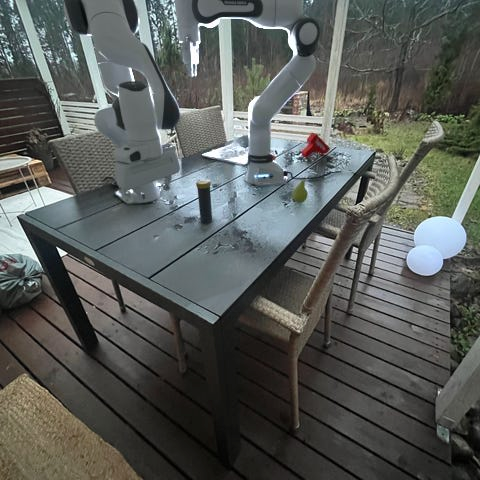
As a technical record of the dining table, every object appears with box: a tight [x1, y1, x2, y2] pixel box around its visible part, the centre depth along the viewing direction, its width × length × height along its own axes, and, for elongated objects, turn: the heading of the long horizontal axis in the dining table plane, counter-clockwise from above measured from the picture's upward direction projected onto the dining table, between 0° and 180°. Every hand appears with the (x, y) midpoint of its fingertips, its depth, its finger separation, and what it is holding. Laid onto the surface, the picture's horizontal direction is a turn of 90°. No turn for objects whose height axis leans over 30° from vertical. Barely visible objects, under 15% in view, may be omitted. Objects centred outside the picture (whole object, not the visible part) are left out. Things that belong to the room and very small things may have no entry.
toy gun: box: [300, 132, 330, 159], centre depth 180 cm, size 18×4×15 cm
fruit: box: [291, 174, 311, 204], centre depth 118 cm, size 7×8×12 cm
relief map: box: [201, 142, 249, 166], centre depth 183 cm, size 27×35×5 cm
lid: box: [195, 178, 211, 188], centre depth 99 cm, size 5×5×2 cm
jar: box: [196, 186, 213, 225], centre depth 103 cm, size 5×5×16 cm
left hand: (154, 194), depth 83 cm, fingers open, 8 cm apart
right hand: (192, 76), depth 120 cm, fingers open, 8 cm apart
